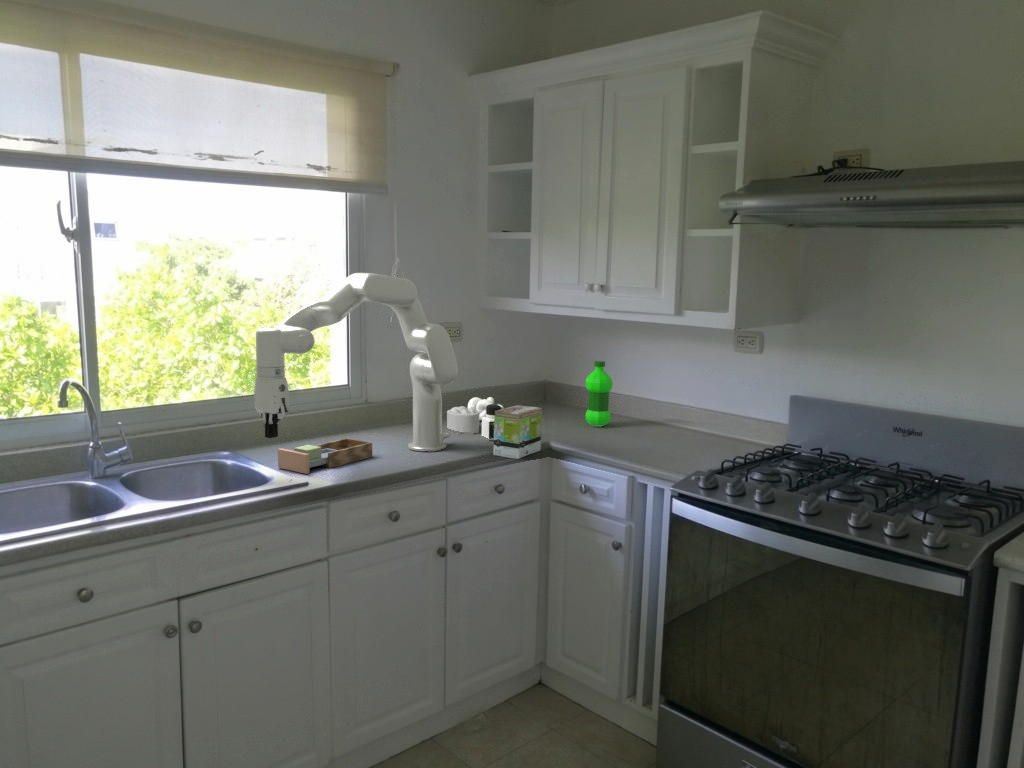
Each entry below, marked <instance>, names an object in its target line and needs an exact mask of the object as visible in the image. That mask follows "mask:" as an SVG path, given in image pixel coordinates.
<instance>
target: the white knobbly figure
mask: <svg viewBox="0 0 1024 768" xmlns="http://www.w3.org/2000/svg"><path fill="white" fill-rule="evenodd" d="M490 404H495V399H494V398H493V397H492V396H489V397H487V398H486V399H485V398H483V399H482V398H480V397H478V396H475V397H472V398H471V399H469V401H468V402H467V409H469V408H470V407H475V408H476V410H477V411H478V412H479V420H482V417H487V416H486V406H487V405H490Z"/></svg>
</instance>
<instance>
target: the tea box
mask: <svg viewBox="0 0 1024 768" xmlns="http://www.w3.org/2000/svg"><path fill="white" fill-rule="evenodd" d="M542 418H543V408H542V407H537V406H536V407H535V406H528V405H520V404H517V405H512V406H508V407H503V409H500V410H496V411H495V419H494V440H493V447H492V449H493V456H497V457H503V458H509V459H516V460H519V459H522V458H523V457H526V456H529V455H531V454H535V453H537V452H538V453H539V452H540V451H541V449H542V445H541V444H542V425H543V424H542V423H543V422H542V420H543V419H542Z"/></svg>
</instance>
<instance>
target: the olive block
mask: <svg viewBox="0 0 1024 768" xmlns="http://www.w3.org/2000/svg"><path fill="white" fill-rule="evenodd" d="M293 451H297V452H301V453H306V454H309V461H311V460H315V459H319V458H321V447H318V446H315V445H313V444H305V445H301V446H297V447H294V448H293Z"/></svg>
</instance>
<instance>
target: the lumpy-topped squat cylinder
mask: <svg viewBox="0 0 1024 768" xmlns="http://www.w3.org/2000/svg"><path fill="white" fill-rule="evenodd" d="M447 428H448V429H451V430H454V431H459V432H476V431H478V430H479V431H480V422H479V412H478V411H477V410H476V406H475V407H470V408H469V409H468V407H467V406H466V405H465V406H463V405H460V406H454V407H452V408H451V409H448V410H446V429H447Z"/></svg>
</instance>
